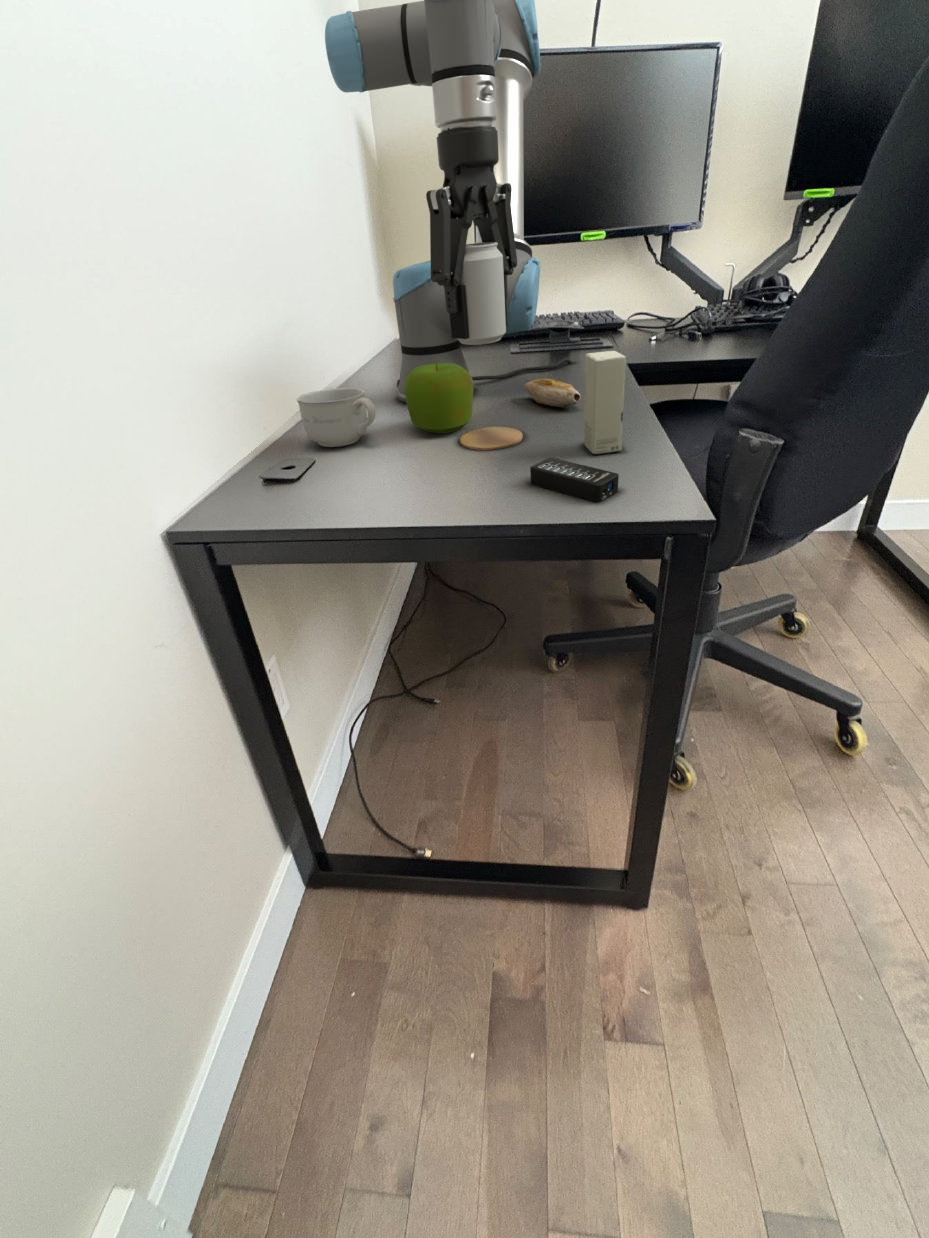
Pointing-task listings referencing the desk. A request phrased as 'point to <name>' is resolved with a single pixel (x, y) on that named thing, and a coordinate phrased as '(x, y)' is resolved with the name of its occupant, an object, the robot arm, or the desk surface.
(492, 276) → the can
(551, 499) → the desk surface
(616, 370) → the box
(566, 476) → the multiport hub
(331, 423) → the teacup
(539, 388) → the beige elongated hollow pod
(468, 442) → the coaster
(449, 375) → the apple
